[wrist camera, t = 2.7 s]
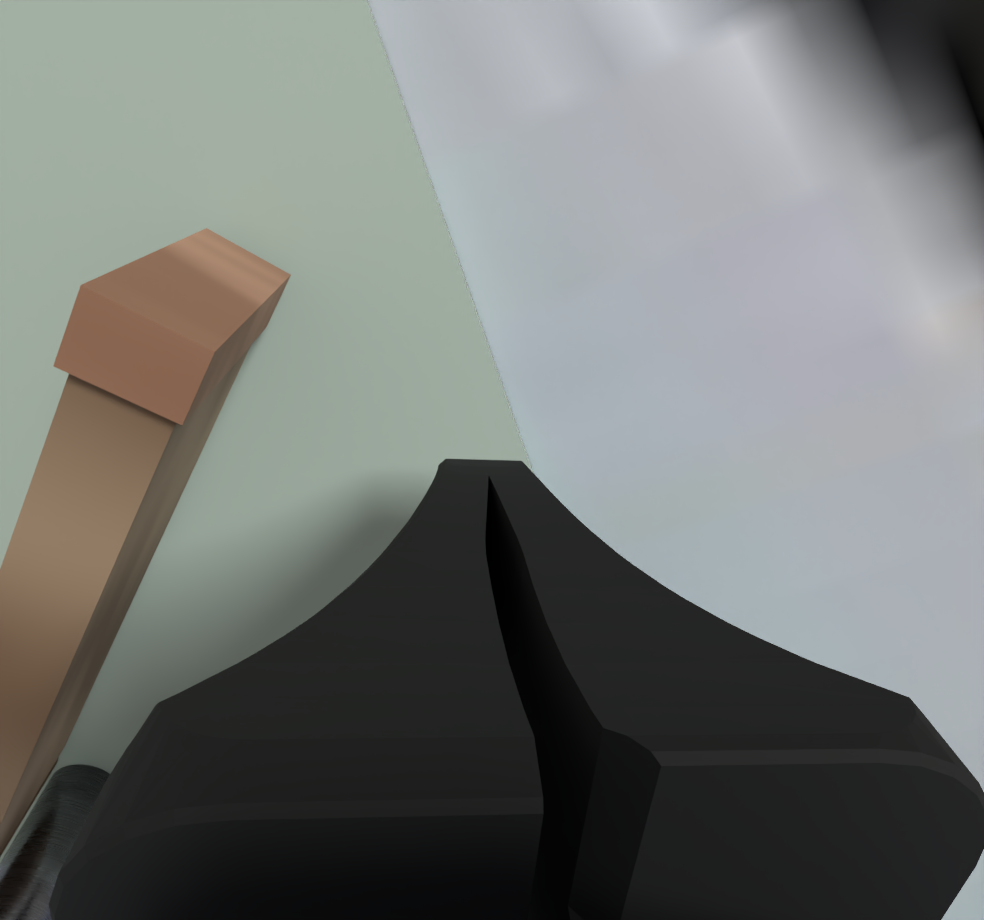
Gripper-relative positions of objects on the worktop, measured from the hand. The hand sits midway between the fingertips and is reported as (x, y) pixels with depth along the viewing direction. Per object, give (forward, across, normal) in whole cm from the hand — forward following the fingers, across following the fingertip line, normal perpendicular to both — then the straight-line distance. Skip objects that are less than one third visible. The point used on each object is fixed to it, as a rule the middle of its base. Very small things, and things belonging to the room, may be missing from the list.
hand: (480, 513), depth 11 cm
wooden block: (+2, +7, +2) cm, 8 cm away
